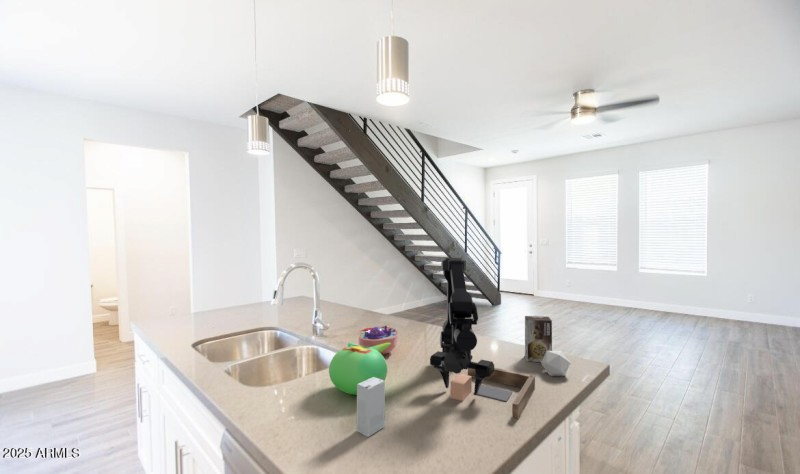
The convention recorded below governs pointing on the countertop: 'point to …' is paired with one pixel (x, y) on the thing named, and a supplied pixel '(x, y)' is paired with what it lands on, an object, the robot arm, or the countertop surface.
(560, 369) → the die
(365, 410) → the skincare box
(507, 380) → the wooden corner wall
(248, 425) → the countertop surface
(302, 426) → the countertop surface
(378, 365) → the toy bird
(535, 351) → the coffee box
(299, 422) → the countertop surface
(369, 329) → the cell model
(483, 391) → the mat
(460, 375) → the block
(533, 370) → the countertop surface
